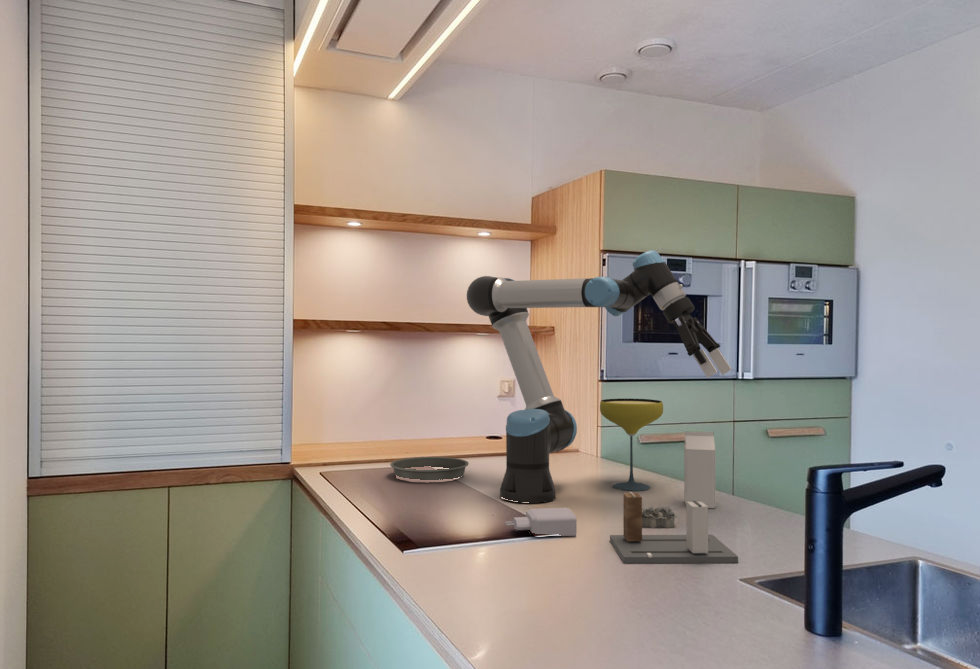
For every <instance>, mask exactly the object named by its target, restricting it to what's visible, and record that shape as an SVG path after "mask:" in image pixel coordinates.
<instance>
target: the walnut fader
mask: <svg viewBox="0 0 980 669" xmlns="http://www.w3.org/2000/svg"><path fill="white" fill-rule="evenodd" d="M622 496H623V504H622V505H623V506H622V507H623V508H622V509H623V510H622V511H623V517H622V518H623V519H622V520H623V526H622V527H623V535H624V537H625V539H626V540H627V541H642V535H643V527H642V508H643V497H642V496H641V495H640V494H639V493H638V492H633V491H628V492H623V495H622Z"/></svg>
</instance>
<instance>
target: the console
mask: <svg viewBox="0 0 980 669" xmlns="http://www.w3.org/2000/svg"><path fill="white" fill-rule="evenodd" d="M609 542H610V543H611V544H612V547H613V548H614V549H615V551H616V553H617V554H618V555H619V557H620V559H621V561H622V562H623V564H739V556H738V555H737V554H736V553H735V552H733V550H731V549H730V548H729V547H728V546H727V545H725V544H724V543H723V542H722V541H721V540H720V539H718V537H716V536H715V535H714V534H708V553H692V552H691V551H690V550H689V549H688V548H687V534H642V541H627V540H626V539H625V537H624V534H610V535H609Z"/></svg>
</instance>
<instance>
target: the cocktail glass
mask: <svg viewBox="0 0 980 669" xmlns="http://www.w3.org/2000/svg"><path fill="white" fill-rule="evenodd" d="M599 411H600V414H601V415H602V416H603V417H604V418H605V419H606V420H608V421H609V422H611V423H613V424H615V425H617V426H618V427H620V428H621V429H623V430H624V432H625V433H626V435H628V436H629V438H630V440H629V441H630V442H629V443H630V444H629V445H630V447H629V448H630V452H629V454H630V455H629V461H630V462H629V477H628V480H627V481H623V482H622V481H621V482H616V483H613V484H612V487H613V489H616V490H619V489H620V491H625V490H628V492H642V491H643V492H644V491H649V490H650V489H651V486H650V485H649V484H647V483H643V482H636V481H635V477H634V466H633V465H634V464H633V463H634V461H633V460H634V459H633V458H634V456H633V437H634V436H635V435H636V434H638V432H639V430H641V429H642V428H644V427H645V426H647V425H650V424H652V423H654V422H655V421H657V420H658V419H659V418H660V417H662V415H663V414H664V403H663V401H662V400H658V399H647V398H607V399H602V400H600V402H599Z"/></svg>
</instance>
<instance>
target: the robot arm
mask: <svg viewBox="0 0 980 669" xmlns="http://www.w3.org/2000/svg"><path fill="white" fill-rule="evenodd" d="M632 267H633V271H632V272H631V273H630V274H629V275H627V276H626V277H624V278H622V280H621V279H615V278H611V277H608V276H596V277H593V278H587V277H586V278H585V277H583V278H563V279H562V278H558V279H533V280H532V279H529V280H514V279H512V278H508V277H495V276H489V275H484V276H480V277H477V278H475V279H474V280H473V281H472V282H471V283H470V284H469V286H468V288H467V291H466V301H467V304H468V307H469V308H470V309H471V310H472V311H473V312H474V313H476V314H478V315H480V316H484V317H488V319H489V322H490V324H491V327H492V329H495V330H496V331H498V332H499V334H500V336H501V337H500V338H501V339H502V342H503V345H504V349H505V350H506V354H507V355H508V359H509V361H510V362H509V363H510V365H511V368H512V370H513V373H514V376H515V379H516V381H517V384H518V387H519V391H520V392H521V395H522V398H523V401H524V403H525V407H524V408H525V409H519V410H515V411H513V412H511V413H509V414H508V416H507V418H506V425H505V432H506V433H505V435H506V436H505V440H506V441H505V444H506V445H505V447H506V448H505V451H506V457H505V458H506V460H505V461H506V465H505V466H506V467H505V468H506V470H505V472H504V475H503V480H502V482H501V486H500V487H499V491H500V492H499V497H500V496H501V497H503V498H505V499H508V500H513V501H518V502H529V503H528V504H539V503H538V502H544V503H549V502H551V501H554V500H555V499H556V496H557V495H556V494H557V492H556V491H557V490H556V486H555V483H554V481H553V477H552V474H551V470H550V454H552V453H557V452H560V451H563V450H565V449H566V448H568V447H569V446H571V445H572V444H573V442H574V441H575V439H576V436H577V433H578V427H577V425H578V424H577V421H576V419H575V417H574V416H573V414H572V413H570V412H569V411H568V410H566V409H565V407H564V404H563V402H562V399H560V398H558V397H556V396H555V395H554V392H553V390H552V388H551V387H552V386H551V385H550V382H549V380H548V376H547V374H546V371H545V368H544V365H543V364H542V361H541V358H540V355H539V352H538V349H537V346H536V344H535V342H534V338H533V336H532V334H531V331H530V328H529V326H528V322H527V320H528V318H529V315H530V313H529V311H528V309H534V308H535V309H541V308H542V309H543V308H545V309H548V308H549V309H551V308H552V309H553V308H563V309H564V308H604V309H605V310H606V311H607V312H608V313H609V314H610V315H611V316H613V317H619V316H621V315H623V314H625V313H627V312H629V310H631V309H632V308H633V307H634V306H636V305H637V304H638V303H641V301H642V300H644V299H645V298H647V297H648V296H649V295H651V297H652V298H653V300H654V302H655V303H656V305H657V307H658V308H659V309H660V310H661V311H662V314H663V315H664V317H665V319H666V320H667V322H668V323H669V324H673V325H674V326H675V329H677V332H678V334H679V337H680V339H681V341H682V343H683V345H684V347H685V350H686V352H687V355H688V356H689V357H691V356H693V358H694V360H695V361H696V362H697V363H698V366H699V367H700V369H701V370H702V372H703V374H704V375H705V376H706V378H710V377H712V376H713V375H714V374H717V373H718V371H719V372H720V374H721V375H722V376H723V375H725V374H726V373H728V372H730V371H732V367H731V366H730V364H729V363H728V362H727V360H726V359H725V357H724V355H723V354H722V352H721V351H720V347H721V345H720V343H718V342H717V341H716V340H715V339H714V337H713V336H712V335H711V334H710V333H709V331H707V329H706V327H704V326H703V324H702V323H701V322H700V320H699V319H698V318H697V317H696V316H695V317H693V316H692V315H691V313H693V312H694V311H695V305H694V304H693V302H692V300H691V299H690V298H689V297H687V294H686V292H685V291H684V290H683V287H684V285H683V284H682V283H681V284H680V283H679V282H678V280H677V278H676V277H675V275H674V274H673V272H672V271H671V269H670V268H669V266H668V265H667V262H666V261H665V260H664V259H663V258H662V256H661V255H660V254H659V253H658V251H657V250H653V249H652V250H651V249H650V250H648V251H645V252H643V253H641V254H640V255H638V256H637V257H636V259H634V260H633V261H632ZM701 345H702V346H703V348H704V349H705V350H706V351H707V352H708V354H707V353H706V351H705V350H704V349H702V347H701ZM708 355H709V356H708ZM709 357H710V358H709ZM710 359H711V360H712V361H713V363H712V361H711V360H710ZM715 366H716V367H715ZM716 368H717V369H716ZM548 501H549V502H548Z"/></svg>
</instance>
